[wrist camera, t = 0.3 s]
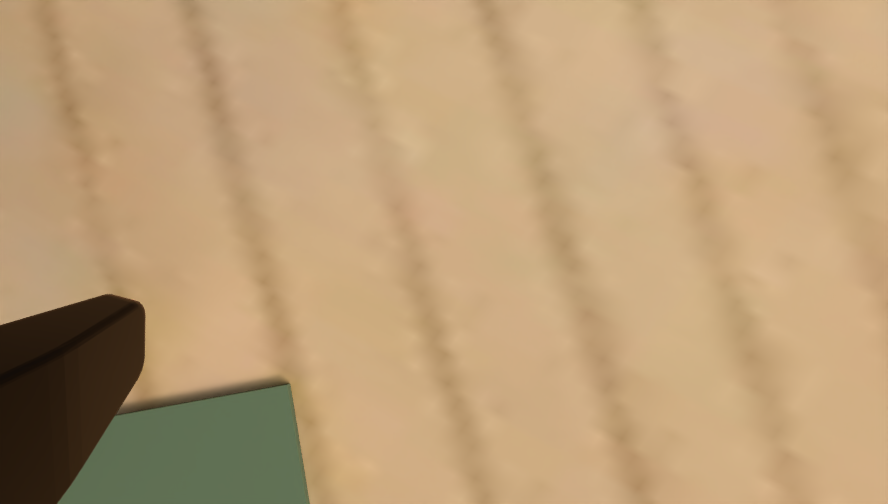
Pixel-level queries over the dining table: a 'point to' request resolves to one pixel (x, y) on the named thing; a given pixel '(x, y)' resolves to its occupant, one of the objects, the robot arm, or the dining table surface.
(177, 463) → the green mat
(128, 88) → the dining table surface
